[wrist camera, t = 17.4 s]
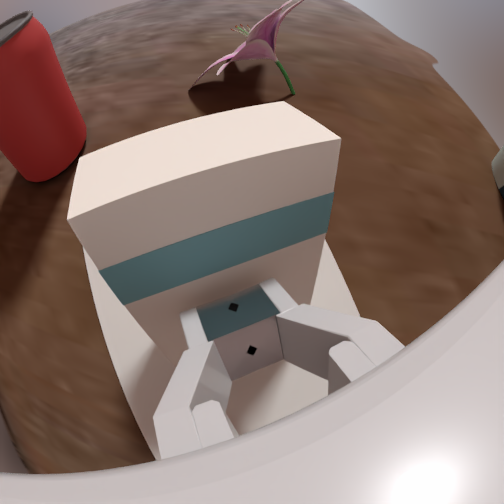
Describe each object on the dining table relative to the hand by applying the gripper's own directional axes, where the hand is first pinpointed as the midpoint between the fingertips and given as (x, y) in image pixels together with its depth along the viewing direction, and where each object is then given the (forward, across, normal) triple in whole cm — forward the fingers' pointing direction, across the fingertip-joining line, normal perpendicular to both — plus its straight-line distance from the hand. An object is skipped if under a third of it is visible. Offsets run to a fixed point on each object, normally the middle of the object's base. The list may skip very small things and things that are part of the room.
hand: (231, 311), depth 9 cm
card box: (+4, 0, +4) cm, 6 cm away
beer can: (+17, +8, -7) cm, 20 cm away
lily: (+18, -9, -8) cm, 22 cm away
